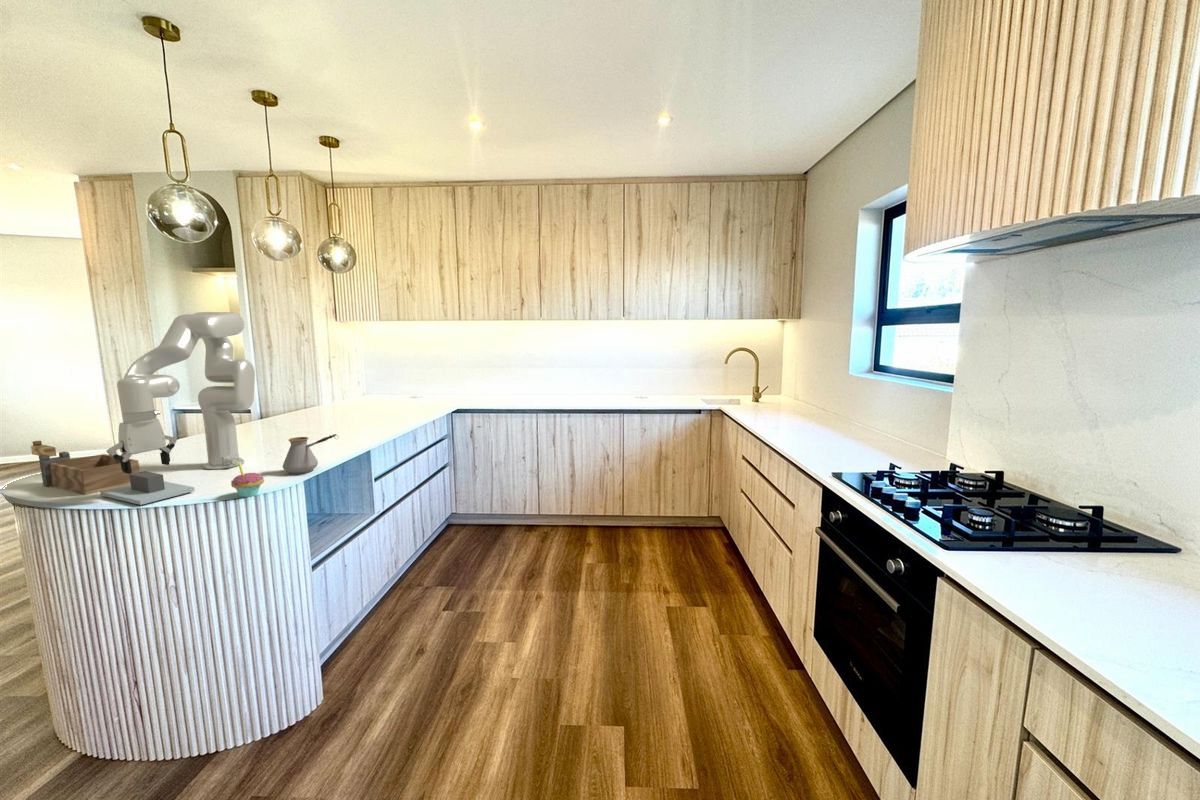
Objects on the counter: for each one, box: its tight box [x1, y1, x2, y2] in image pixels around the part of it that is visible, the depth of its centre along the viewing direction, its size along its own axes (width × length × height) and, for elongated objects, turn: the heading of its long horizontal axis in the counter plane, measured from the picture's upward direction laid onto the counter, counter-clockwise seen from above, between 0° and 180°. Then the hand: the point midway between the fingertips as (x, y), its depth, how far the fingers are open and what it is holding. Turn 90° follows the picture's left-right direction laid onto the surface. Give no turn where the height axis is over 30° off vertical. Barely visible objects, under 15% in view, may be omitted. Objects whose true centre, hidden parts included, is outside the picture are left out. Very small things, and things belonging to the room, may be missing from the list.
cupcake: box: [230, 461, 265, 498], centre depth 152 cm, size 9×8×12 cm
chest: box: [38, 451, 141, 496], centre depth 161 cm, size 25×15×11 cm, turn 68°
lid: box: [100, 470, 196, 506], centre depth 151 cm, size 22×14×7 cm, turn 69°
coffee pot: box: [282, 433, 339, 475], centre depth 177 cm, size 21×12×15 cm, turn 85°
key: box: [30, 440, 57, 458], centre depth 163 cm, size 10×2×4 cm, turn 68°
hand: (147, 468), depth 151 cm, fingers open, 9 cm apart
